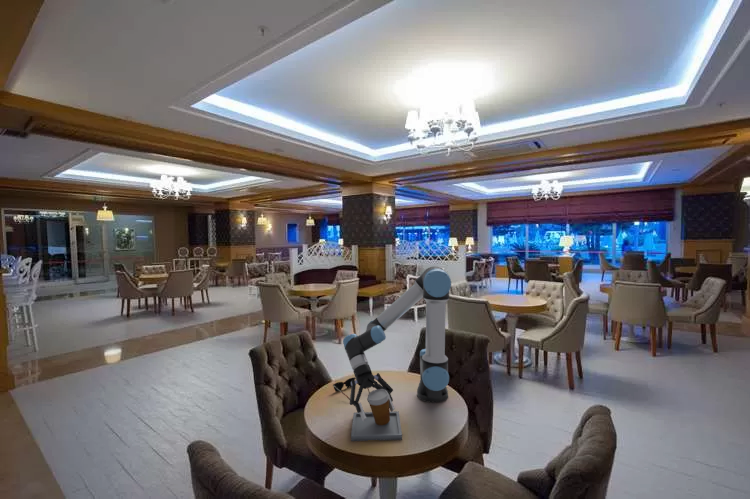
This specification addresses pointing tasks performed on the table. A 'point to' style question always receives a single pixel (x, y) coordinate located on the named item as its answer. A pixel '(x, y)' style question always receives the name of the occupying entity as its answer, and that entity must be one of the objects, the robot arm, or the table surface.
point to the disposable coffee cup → (379, 406)
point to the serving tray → (375, 428)
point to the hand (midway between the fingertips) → (379, 415)
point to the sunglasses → (339, 385)
